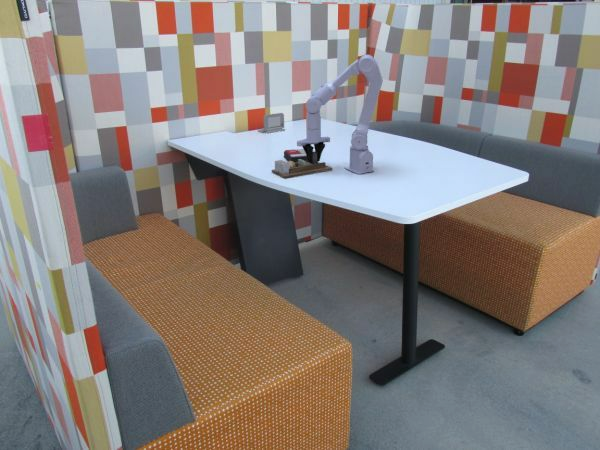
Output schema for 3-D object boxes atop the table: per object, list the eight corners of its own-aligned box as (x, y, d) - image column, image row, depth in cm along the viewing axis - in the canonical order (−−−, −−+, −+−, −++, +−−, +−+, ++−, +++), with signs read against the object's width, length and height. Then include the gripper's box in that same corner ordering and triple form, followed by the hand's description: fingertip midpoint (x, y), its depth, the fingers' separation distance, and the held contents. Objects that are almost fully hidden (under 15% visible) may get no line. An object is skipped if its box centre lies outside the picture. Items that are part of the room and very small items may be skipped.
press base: (332, 170, 204) (332, 163, 203) (284, 178, 194) (284, 171, 193) (317, 164, 213) (317, 157, 212) (271, 172, 203) (271, 165, 202)
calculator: (307, 147, 228) (316, 153, 214) (307, 157, 229) (316, 163, 215) (283, 149, 225) (290, 155, 211) (283, 159, 227) (291, 165, 213)
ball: (296, 161, 199) (287, 163, 197) (297, 170, 200) (289, 173, 199) (291, 158, 202) (283, 161, 200) (292, 168, 203) (284, 170, 202)
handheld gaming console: (275, 128, 288) (275, 110, 285) (285, 130, 282) (284, 112, 278) (256, 131, 281) (255, 113, 277) (265, 134, 274) (264, 115, 271)
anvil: (290, 173, 197) (289, 163, 196) (283, 174, 196) (283, 164, 194) (281, 169, 203) (281, 160, 201) (275, 170, 201) (274, 161, 200)
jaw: (319, 167, 205) (319, 153, 203) (303, 169, 201) (303, 155, 199) (314, 164, 208) (314, 150, 206) (298, 167, 205) (298, 153, 203)
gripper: (323, 124, 207) (323, 157, 212) (292, 128, 200) (293, 162, 205) (333, 127, 201) (332, 160, 206) (301, 131, 194) (302, 165, 199)
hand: (313, 161), depth 205 cm, fingers closed on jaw, 3 cm apart
